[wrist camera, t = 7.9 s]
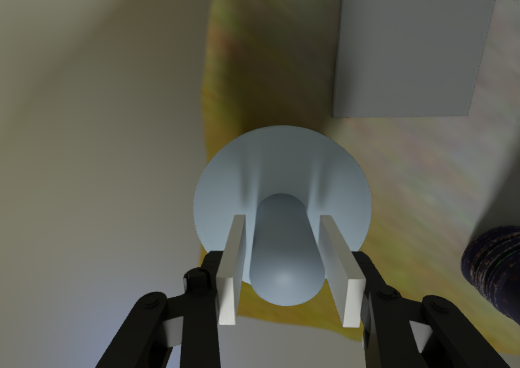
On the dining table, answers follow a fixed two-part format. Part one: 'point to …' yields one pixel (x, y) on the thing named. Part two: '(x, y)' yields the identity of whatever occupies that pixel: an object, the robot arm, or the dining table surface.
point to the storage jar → (496, 268)
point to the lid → (282, 206)
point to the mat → (408, 57)
